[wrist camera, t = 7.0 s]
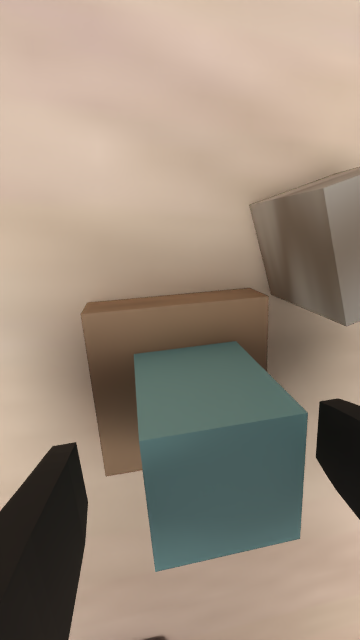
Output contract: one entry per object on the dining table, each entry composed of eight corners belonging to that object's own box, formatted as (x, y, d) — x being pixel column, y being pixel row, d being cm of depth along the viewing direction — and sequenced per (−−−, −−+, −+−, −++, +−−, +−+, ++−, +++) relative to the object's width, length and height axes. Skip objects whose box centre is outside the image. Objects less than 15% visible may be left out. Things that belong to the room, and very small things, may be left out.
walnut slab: (244, 418, 16) (264, 449, 14) (108, 439, 15) (105, 476, 13) (245, 286, 14) (268, 296, 12) (88, 300, 13) (80, 314, 11)
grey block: (349, 264, 14) (463, 279, 9) (270, 294, 14) (346, 326, 9) (336, 173, 13) (459, 138, 8) (248, 204, 13) (323, 188, 8)
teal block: (237, 427, 13) (300, 538, 8) (144, 443, 13) (155, 571, 8) (236, 341, 12) (308, 412, 7) (133, 353, 11) (138, 441, 7)
